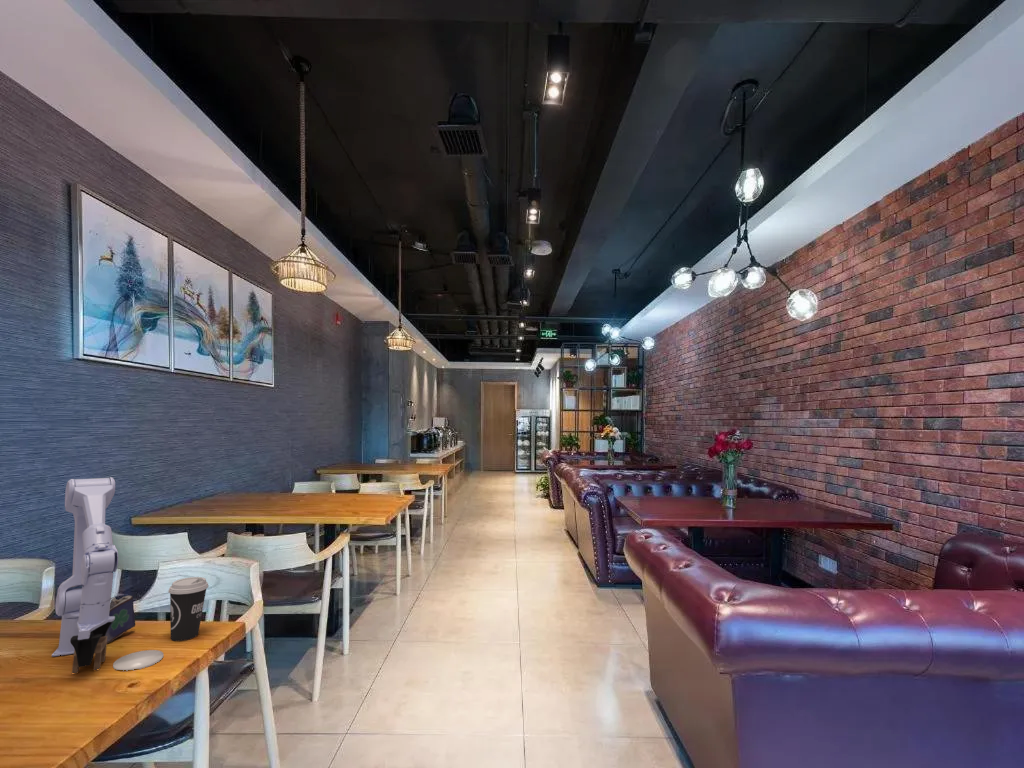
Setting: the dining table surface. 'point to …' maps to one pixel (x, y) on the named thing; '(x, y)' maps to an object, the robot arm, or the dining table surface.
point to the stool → (99, 655)
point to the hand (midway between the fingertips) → (89, 659)
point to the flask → (121, 617)
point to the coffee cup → (186, 607)
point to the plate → (138, 660)
